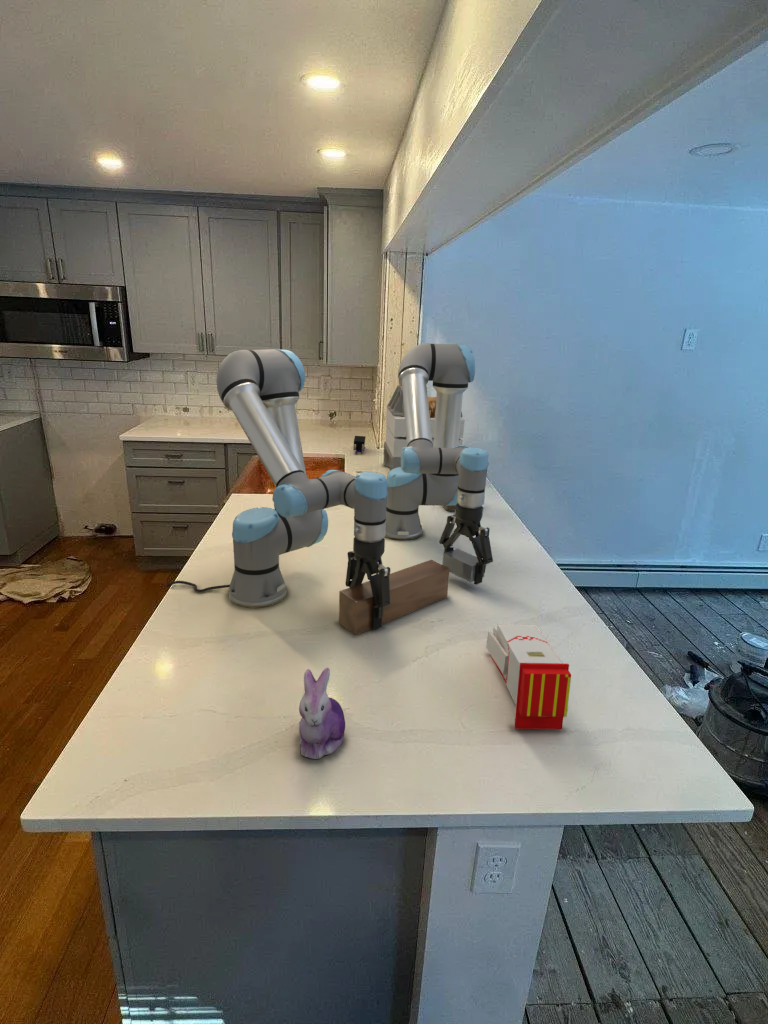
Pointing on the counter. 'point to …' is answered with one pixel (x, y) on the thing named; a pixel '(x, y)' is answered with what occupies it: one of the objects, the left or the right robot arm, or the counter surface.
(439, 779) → the counter surface
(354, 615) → the walnut stand
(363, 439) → the figurine character
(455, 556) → the grey block
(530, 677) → the toy
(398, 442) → the transformer
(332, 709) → the figurine
